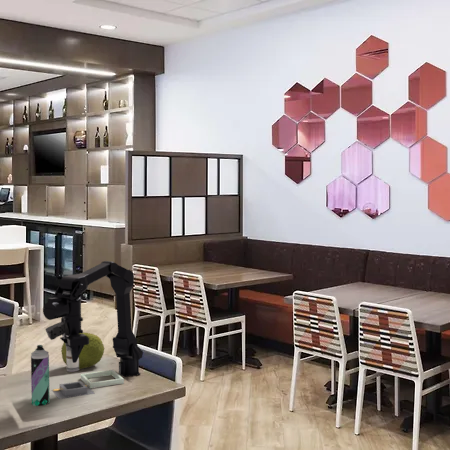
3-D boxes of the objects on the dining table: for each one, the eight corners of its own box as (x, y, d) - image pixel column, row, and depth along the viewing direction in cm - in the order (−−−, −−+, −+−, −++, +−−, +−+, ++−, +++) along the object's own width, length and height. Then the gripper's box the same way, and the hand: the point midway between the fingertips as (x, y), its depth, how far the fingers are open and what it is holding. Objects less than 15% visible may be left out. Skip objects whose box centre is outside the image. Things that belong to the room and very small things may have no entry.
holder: (86, 389, 226) (86, 379, 225) (95, 397, 217) (95, 387, 217) (51, 394, 220) (51, 384, 220) (58, 403, 211) (58, 392, 211)
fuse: (77, 367, 221) (77, 344, 220) (80, 370, 217) (80, 346, 216) (65, 368, 219) (64, 345, 218) (68, 372, 215) (68, 348, 214)
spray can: (31, 405, 209) (30, 344, 208) (48, 403, 211) (47, 342, 210) (32, 411, 204) (31, 348, 203) (50, 409, 206) (49, 346, 205)
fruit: (79, 359, 262) (97, 327, 262) (98, 379, 254) (117, 346, 253) (48, 355, 250) (66, 321, 249) (67, 376, 241) (87, 340, 240)
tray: (113, 378, 238) (112, 369, 238) (123, 387, 228) (123, 378, 228) (80, 382, 233) (80, 374, 233) (90, 392, 222) (90, 383, 222)
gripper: (41, 311, 221) (42, 357, 222) (54, 322, 205) (55, 371, 206) (74, 308, 226) (74, 353, 227) (89, 318, 210) (89, 366, 211)
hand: (72, 360), depth 218 cm, fingers closed on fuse, 4 cm apart
